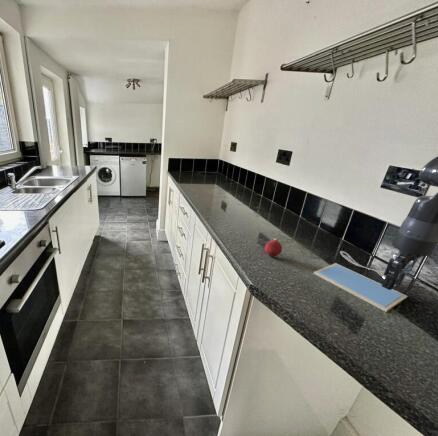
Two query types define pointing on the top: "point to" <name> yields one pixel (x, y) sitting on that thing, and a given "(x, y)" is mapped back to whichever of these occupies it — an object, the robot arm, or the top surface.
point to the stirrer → (361, 265)
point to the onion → (273, 248)
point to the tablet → (361, 286)
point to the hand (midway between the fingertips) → (390, 285)
